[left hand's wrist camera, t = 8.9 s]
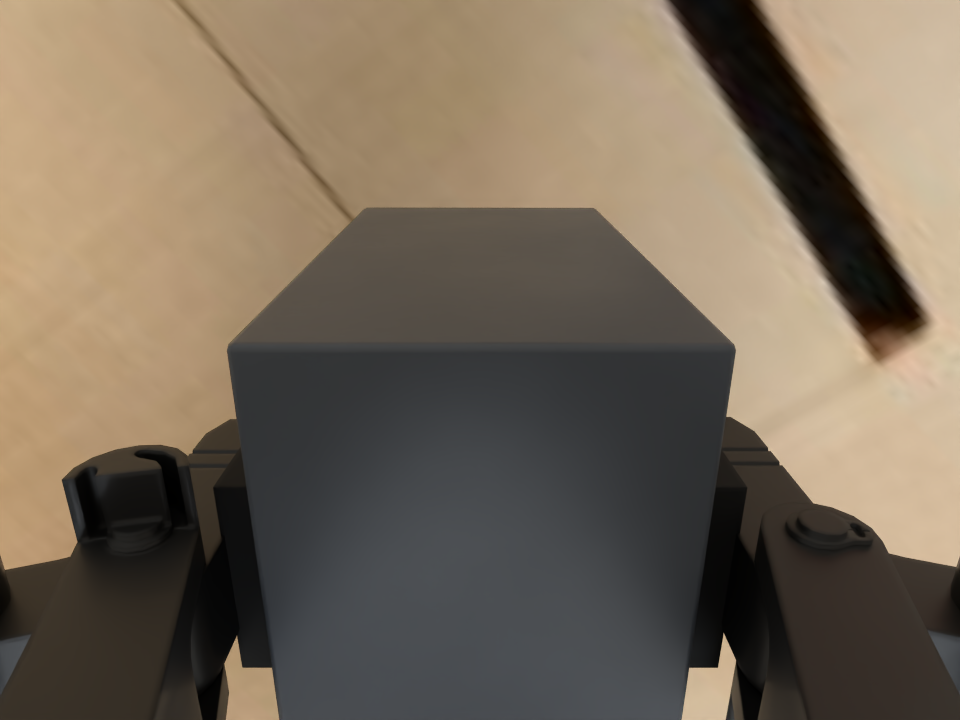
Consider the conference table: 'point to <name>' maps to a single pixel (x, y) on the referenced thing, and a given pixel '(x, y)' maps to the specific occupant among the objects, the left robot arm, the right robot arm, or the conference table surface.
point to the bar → (480, 470)
